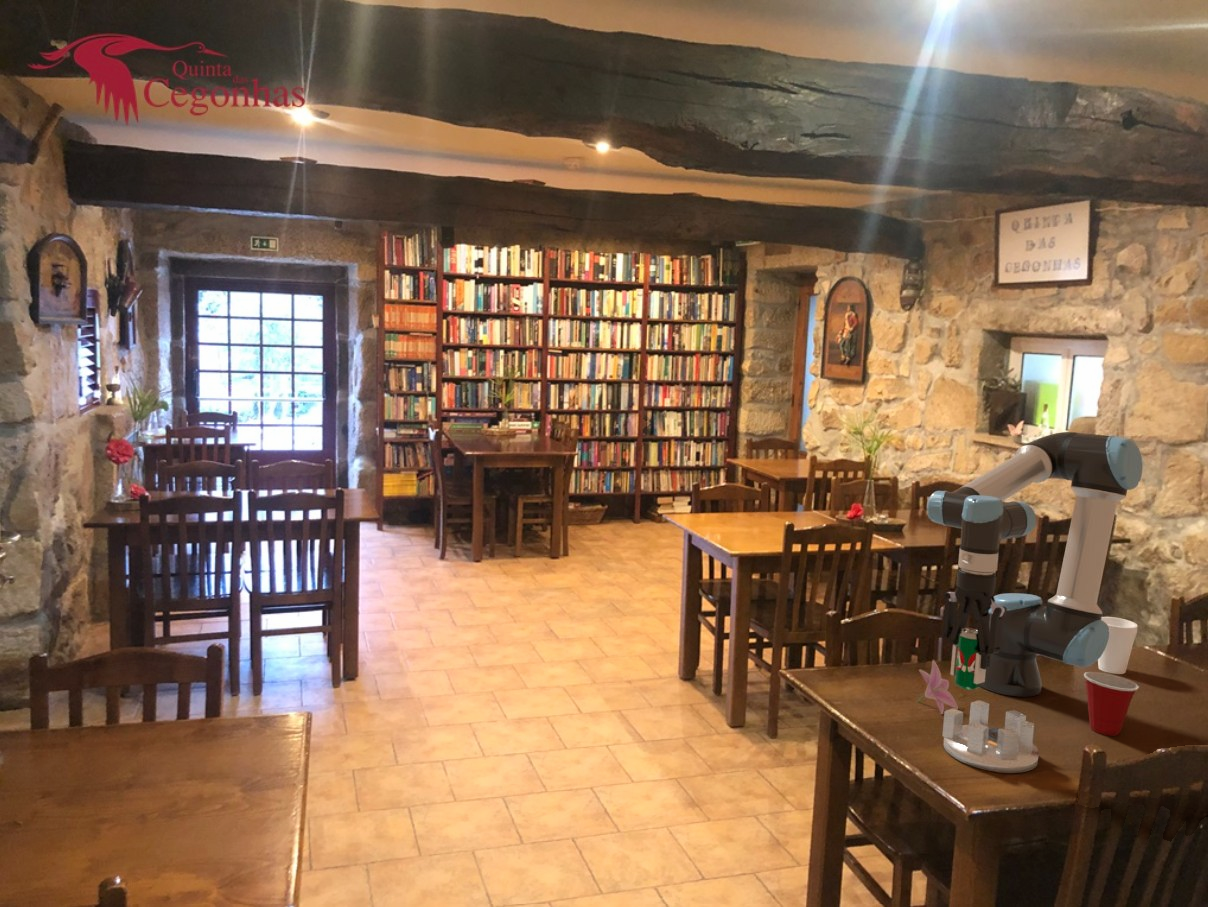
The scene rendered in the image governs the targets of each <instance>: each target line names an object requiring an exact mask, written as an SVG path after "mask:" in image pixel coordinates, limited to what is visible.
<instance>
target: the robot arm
mask: <svg viewBox="0 0 1208 907" xmlns="http://www.w3.org/2000/svg"><path fill="white" fill-rule="evenodd" d="M1142 477H1143V456H1142V453H1141V450H1140V449H1139V446H1138V444H1136V443H1135V442H1134V441H1133V440H1132V439H1129V438H1125V437H1121V436H1116V435H1105V434H1103V435H1102V434H1094V433H1092V434H1091V433H1081V432H1073V431H1064V432H1063V431H1061V432H1056V433H1052V434H1048V435H1045V436H1042V437H1039V438H1037V439H1036V438H1035V439H1034V440H1032V441H1029V442H1028V443H1026V444H1024V445H1023V446H1021V447H1019V448H1018V449H1017V450H1016V451H1015V453H1014V455H1013V456H1012V457H1010V458H1009V459H1006V460H1005V461H1003V462H1001V463H1000V464H998V465H997V466H995V467H993V468H992V469H990V470H988V471H986V472H985V473H983V474H981V475H980V476H978V477H976V478H974V479H973V480H971V481H969V482H967V483H966V484H964V485H962V486H961V487H959V488H958V489H957V488H956V490H954V491H951V492H950V491H948V490H936V491H934V492H933V493H932V494H931V495H930V496H929V498H928V499H927V503H926V513H927V514H926V516H928V519H929V520H930V521H931V522H933V523H934V524H935V523H936V524H939V525H943V527H952V528H956V529H961V530H960V544H959V554H958V561H957V562H958V564H957V566H958V567H959V569H957V573H956V582H955V583H956V586H957V588H956V590H955V591H947V592H944V593H942V594H943V595H942V597H943V601H944V609H943V619H942V630H941V636H942V638H943V639H947V641H948V642H949V652H948V656H949V658H951V662H950V664H951V666H950V674H949V675H951V676H955V670H956V658H957V647H958V635H959V633H960V632H961V629H962V628H967V627H966V626H967V624H968V621H969V618H970V616H971V615H972V616H973V618H974V621H975V622H976V629H977V631H978V639H979V647H980V652H978V653H976V662H975V673H974V683H975V684H979V683H980V687H982V688H983V689H985V690H987V691H990V692H992V693H996V694H1000V695H1005V696H1010V697H1022V698H1023V697H1035V696H1037V695H1039V694H1041V692H1042V685H1043V684H1042V683H1043V682H1042V679H1041V674H1040V670H1039V667H1038V662H1037V655H1040V656H1043V657H1045V658H1049V659H1052V660H1056V661H1059V662H1062V663H1064V664H1066V665H1072V666H1075V667H1079V668H1087V667H1091V666H1093V665H1094V664H1095V663H1097V662H1098V659H1099V658H1100V657H1101V655H1102V654H1103V652H1104V650H1105V648H1106V645H1107V643H1108V639H1109V627H1108V625H1107V624H1106V623H1105V622H1104V621H1102V620H1101V617H1103V611H1102V609H1101V608H1100V606H1098V598H1099V594H1100V588H1101V584H1102V579H1103V575H1104V574H1103V573H1104V570H1105V564H1106V558H1107V553H1108V549H1109V544H1110V540H1111V535H1112V529H1113V526H1114V525H1113V524H1114V519H1115V514H1116V510H1117V504H1118V503H1119V502H1120V501H1122V500H1124V499H1126V497H1127V493H1128V491H1131V490H1134V489H1135V488H1137V487H1138V486H1139V483H1140V482H1141V479H1142ZM1049 479H1051V480H1054V479H1056V480H1057V479H1058V480H1066V481H1071V484H1070V489H1071V491H1072V492H1073V493H1074V495H1075V501H1074V506H1073V511H1072V516H1071V520H1070V526H1069V530H1068V535H1067V540H1066V545H1065V551H1064V555H1063V559H1062V560H1063V561H1062V565H1061V570H1060V575H1059V580H1058V584H1057V589H1056V594H1055V595H1054V596H1053V597H1052V596H1051V598H1049V599H1047V602H1046V606H1045V605H1042V604H1043V600H1042V597H1040V596H1038V595H1036V594H1035V595H1034V594H1029V593H1020V592H1019V593H1018V592H1017V593H1016V592H1015V593H1013V592H1011V593H1007V592H1006V593H1000V594H997V595H994V593H995V590H996V584H997V574H996V573H995V572H997V571H998V564H999V551H1000V550H999V549H1000V541H1002V540H1008V539H1017V538H1021V537H1024V536H1027V535H1029V534H1030V533H1031V532H1032V531H1033V530H1034V529H1035V527H1036V522H1037V517H1036V512H1035V511H1034V509H1033V508H1032V507H1031V506H1030V505H1029V504H1028V503H1026V502H1023V501H1014V500H1012V501H1008V502H1007V501H1005V500H1007V499H1008V498H1010V497H1012V496H1014V495H1015V494H1017V493H1019V492H1020V491H1022V490H1024V489H1025V488H1027V487H1028V486H1030V485H1032V484H1033V483H1035V484H1038V483H1042V482H1044V481H1047V480H1049ZM957 604H959V606H958V605H957ZM957 606H958V608H957Z"/></svg>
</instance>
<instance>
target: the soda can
mask: <svg viewBox="0 0 1208 907" xmlns="http://www.w3.org/2000/svg"><path fill="white" fill-rule="evenodd" d="M978 652H980V647H979V639H978V631H977V628H972V627H965V628H962V629H961V632H960V633H959V635H958V647H957V658H956V670H955V675H954V683H955V685H956V686H957V687H959V688H961V689H963V690H969V691H971V690H972V691H973V690H978V688H980V687H981V686H980V683H979V684H975V683H974V673H975V662H976V653H978Z"/></svg>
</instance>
